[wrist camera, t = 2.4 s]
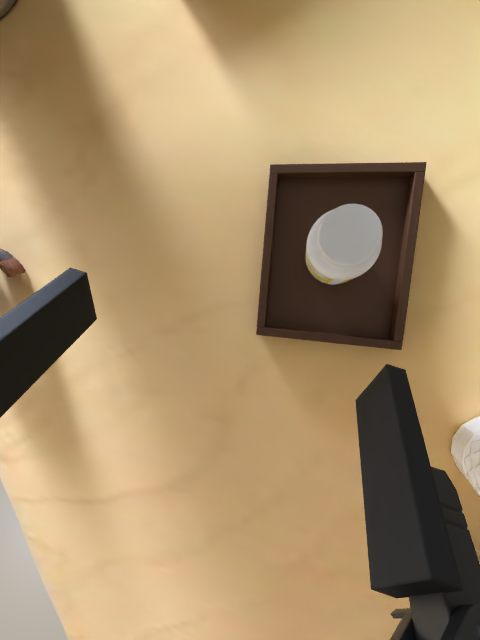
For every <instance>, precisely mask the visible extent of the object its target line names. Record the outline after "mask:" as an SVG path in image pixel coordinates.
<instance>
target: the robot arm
mask: <svg viewBox="0 0 480 640" xmlns="http://www.w3.org/2000/svg"><path fill="white" fill-rule="evenodd" d="M15 1H16V0H0V18H1V17H2V16H3V15H4V14H5V13H6V12H7V11H8V10H9V9H10V8H11V7H12V5H13V4H14V3H15ZM96 319H97V317H96V313H95V308H94V304H93V299H92V295H91V290H90V285H89V281H88V276H87V273H86V272H83V271H79V270H76V269H73V268H69V269H68V270H66V271H65V272H64V273H62V274H61V275H59V276H58V277H57V278H55V279H54V280H53V281H51V282H50V283H48V284H47V285H46V286H44V287H43V288H41V289H40V290H39V291H37V292H36V293H34V294H33V295H32V296H30V297H29V298H27V299H26V300H25V301H23V302H22V303H21V304H19V305H18V306H16V307H15V308H14V309H12V310H11V311H9V312H8V313H7V314H5V315H4V316H2V317H1V318H0V417H1V416H2V415H3V414H4V413H5V412H6V411H7V410H8V409H9V408H10V407H11V406H12V405H13V404H14V403H15V402H16V401H17V400H18V399H19V398H20V397H21V396H22V395H23V394H24V393H25V392H26V391H27V390H28V389H29V388H30V387H31V386H32V385H33V384H34V383H35V382H36V381H37V380H38V379H39V378H40V377H41V376H42V375H43V374H44V373H45V371H46V370H47V369H48V368H49V367H50V366H51V365H52V364H53V363H54V362H55V361H56V360H57V359H58V358H59V357H60V356H61V355H62V354H63V353H64V352H65V351H66V350H67V349H68V348H69V347H70V346H71V345H72V344H73V343H74V342H75V341H76V340H77V339H78V338H79V337H80V336H81V335H82V334H83V333H84V332H85V331H86V330H87V329H88V328H89V327H90V326H91V325H92V323H93V322H94V321H95V320H96ZM356 410H357V423H358V435H359V447H360V459H361V471H362V484H363V496H364V508H365V520H366V533H367V545H368V557H369V569H370V581H371V589H372V590H375V591H378V592H380V593H383V594H386V595H389V596H392V597H395V598H403V597H409V601H410V607H411V608H407V609H396V610H394V611H393V612H392V613H391V615H392V616H393V618H402V620H401V621H400V623H399V625H398V627H397V628H396V630H395V632H394V634H393V635H392V637H391V639H390V640H480V564H479V561H478V558H477V555H476V552H475V548H474V545H473V542H472V539H471V535H470V532H469V530H467V523H466V519H465V516H464V514H463V513H462V506H461V503H460V500H459V497H458V494H457V490H456V489H455V487H454V485H453V484H452V482H451V480H450V479H449V477H448V475H447V474H446V472H445V471H443V470H440V469H437V468H433V467H431V465H430V461H429V458H428V454H427V450H426V446H425V442H424V439H423V435H422V431H421V427H420V423H419V420H418V416H417V412H416V408H415V404H414V401H413V397H412V393H411V389H410V385H409V382H408V378H407V374H406V370H404V369H401V368H398V367H395V366H391V365H388V364H386V365H385V367H384V368H383V369H382V370H381V371H380V372H379V374H378V375H377V376H376V377H375V378H374V379H373V381H372V382H371V383H370V384H369V385H368V387H367V388H366V389H365V390H364V391H363V392H362V394H361V395H360V396H359V397H358V398H357V399H356Z"/></svg>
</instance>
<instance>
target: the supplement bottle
mask: <svg viewBox="0 0 480 640" xmlns="http://www.w3.org/2000/svg"><path fill="white" fill-rule="evenodd" d="M382 235H383V229H382V224H381V221H380V219H379V217H378V216H377V215H376V213H375V212H374V211H372V210H371V209H370V208H368V207H366V206H364V205H360V204H346V205H342V206H339V207H337V208H335V209H333V210H331V211H329V212H327V213H325V214H324V215H322V216H321V217H320V218H319V219H318V220H317V221H316V222H315V223H314V225H313V226H312V228H311V230H310V232H309V235H308V238H307V245H306V265H307V268H308V270H309V272H310V273H311V275H312V276H313V277H314V278H315V279H317V280H318V281H320V282H322V283H325V284H331V285H335V284H341V283H344V282H347V281H349V280H351V279H354V278H356V277H358V276H360V275H362V274H363V273H365V272H366V271H367V270H369V269H370V268H371V267H372V266H373V264H374V263H375V262H376V260H377V258H378V256H379V254H380V251H381V246H382Z"/></svg>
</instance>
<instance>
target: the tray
mask: <svg viewBox="0 0 480 640" xmlns="http://www.w3.org/2000/svg"><path fill="white" fill-rule="evenodd" d="M425 169H426V162H414V163H349V164H285V165H270V176H269V188H268V200H267V212H266V224H265V236H264V248H263V260H262V272H261V284H260V296H259V308H258V320H257V332H256V335H264V336H274V337H283V338H292V339H302V340H311V341H321V342H330V343H340V344H349V345H359V346H368V347H378V348H387V349H396V350H402V343H403V342H402V341H403V335H404V327H405V320H406V312H407V305H408V297H409V290H410V282H411V275H412V267H413V259H414V252H415V244H416V237H417V229H418V222H419V214H420V206H421V199H422V191H423V184H424V176H425ZM346 204H360V205H364V206H366V207H368V208H370V209H371V210H372V211H374V212H375V213H376V215H377V216H378V217H379V219H380V221H381V224H382V229H383V235H382V246H381V251H380V254H379V256H378V258H377V260H376V262H375V263H374V264H373V266H372V267H371V268H370V269H369V270H367V271H366V272H365V273H363V274H362V275H360V276H358V277H356V278H354V279H351V280H349V281H347V282H344V283H341V284H335V285H331V284H325V283H322V282H320V281H318V280H317V279H315V278H314V277H313V276H312V275H311V273H310V272H309V270H308V268H307V265H306V245H307V238H308V235H309V232H310V230H311V228H312V226H313V225H314V223H315V222H316V221H317V220H318V219H319V218H320V217H321V216H322V215H324V214H325V213H327V212H329V211H331V210H333V209H335V208H337V207H339V206H342V205H346Z"/></svg>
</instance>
